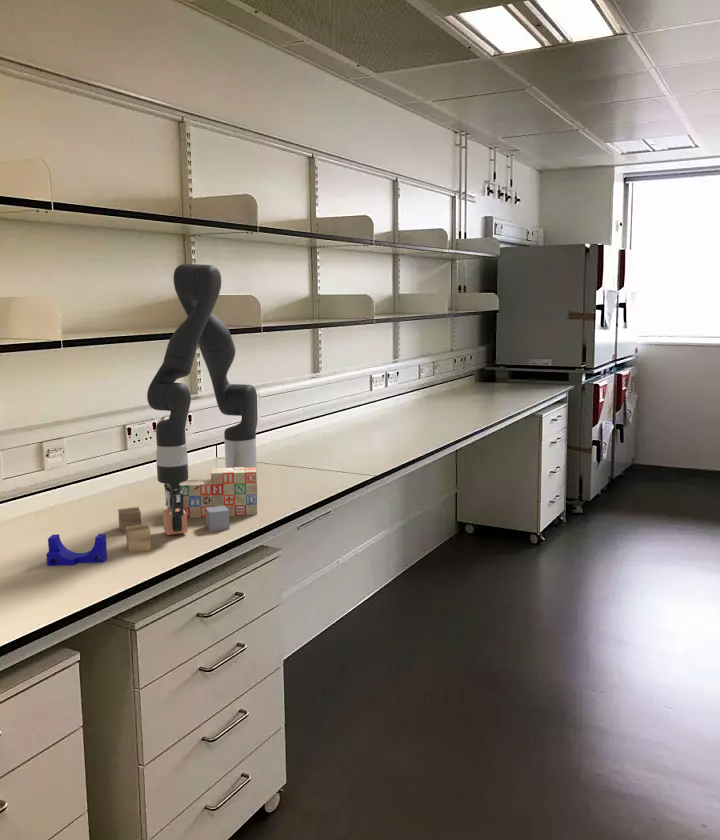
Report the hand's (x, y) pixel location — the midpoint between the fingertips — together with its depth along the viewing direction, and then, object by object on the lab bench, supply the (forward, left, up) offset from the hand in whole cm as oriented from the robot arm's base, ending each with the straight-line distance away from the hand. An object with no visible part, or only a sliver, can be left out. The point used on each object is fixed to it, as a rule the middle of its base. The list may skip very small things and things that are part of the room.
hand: (175, 527), depth 200 cm
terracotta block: (0, 0, -1) cm, 1 cm away
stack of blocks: (-14, +14, -2) cm, 20 cm away
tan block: (-9, -10, -2) cm, 13 cm away
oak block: (+8, -10, -2) cm, 13 cm away
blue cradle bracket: (+13, -24, -2) cm, 27 cm away
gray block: (-1, +11, -2) cm, 11 cm away
